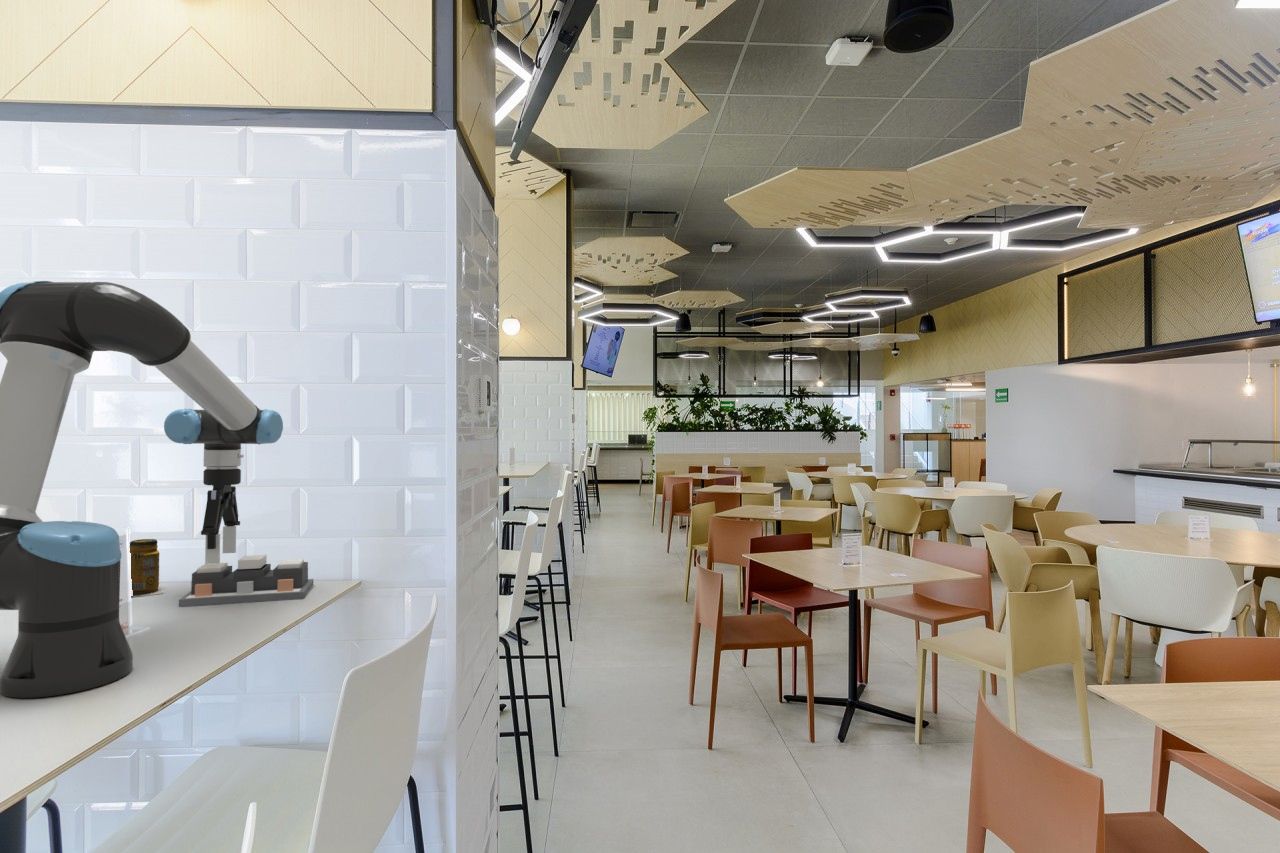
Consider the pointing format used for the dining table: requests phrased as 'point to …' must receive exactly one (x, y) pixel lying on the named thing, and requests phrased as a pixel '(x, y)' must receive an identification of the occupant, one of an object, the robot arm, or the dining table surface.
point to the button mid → (252, 562)
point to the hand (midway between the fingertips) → (221, 557)
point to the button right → (291, 564)
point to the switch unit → (248, 586)
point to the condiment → (145, 567)
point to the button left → (212, 567)
